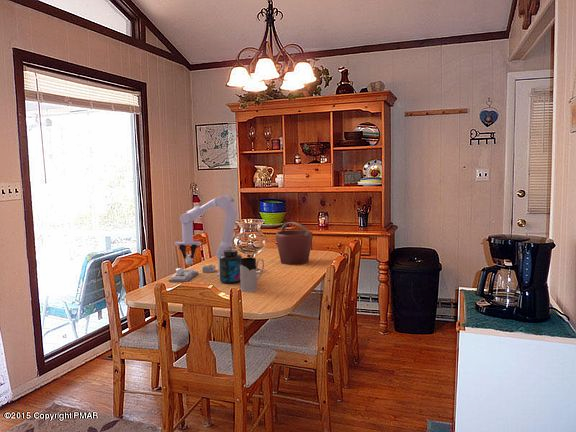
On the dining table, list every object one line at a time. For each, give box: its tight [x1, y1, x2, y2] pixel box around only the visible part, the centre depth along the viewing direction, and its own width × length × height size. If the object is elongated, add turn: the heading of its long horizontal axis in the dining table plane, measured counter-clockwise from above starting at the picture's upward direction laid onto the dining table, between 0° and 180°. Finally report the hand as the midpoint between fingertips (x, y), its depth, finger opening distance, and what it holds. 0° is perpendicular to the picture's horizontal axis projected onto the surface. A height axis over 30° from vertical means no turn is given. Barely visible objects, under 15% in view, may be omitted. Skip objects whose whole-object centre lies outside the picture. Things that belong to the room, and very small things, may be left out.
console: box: [202, 264, 216, 273], centre depth 268 cm, size 6×6×3 cm
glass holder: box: [240, 257, 265, 293], centre depth 226 cm, size 9×14×15 cm, turn 135°
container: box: [218, 249, 243, 285], centre depth 242 cm, size 12×12×16 cm
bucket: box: [275, 221, 313, 266], centre depth 286 cm, size 24×22×25 cm
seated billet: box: [175, 267, 185, 276], centre depth 248 cm, size 4×4×5 cm
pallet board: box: [168, 269, 199, 283], centre depth 254 cm, size 20×10×3 cm, turn 175°
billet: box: [184, 253, 194, 266], centre depth 263 cm, size 4×4×5 cm
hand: (188, 258), depth 263 cm, fingers closed on billet, 4 cm apart
